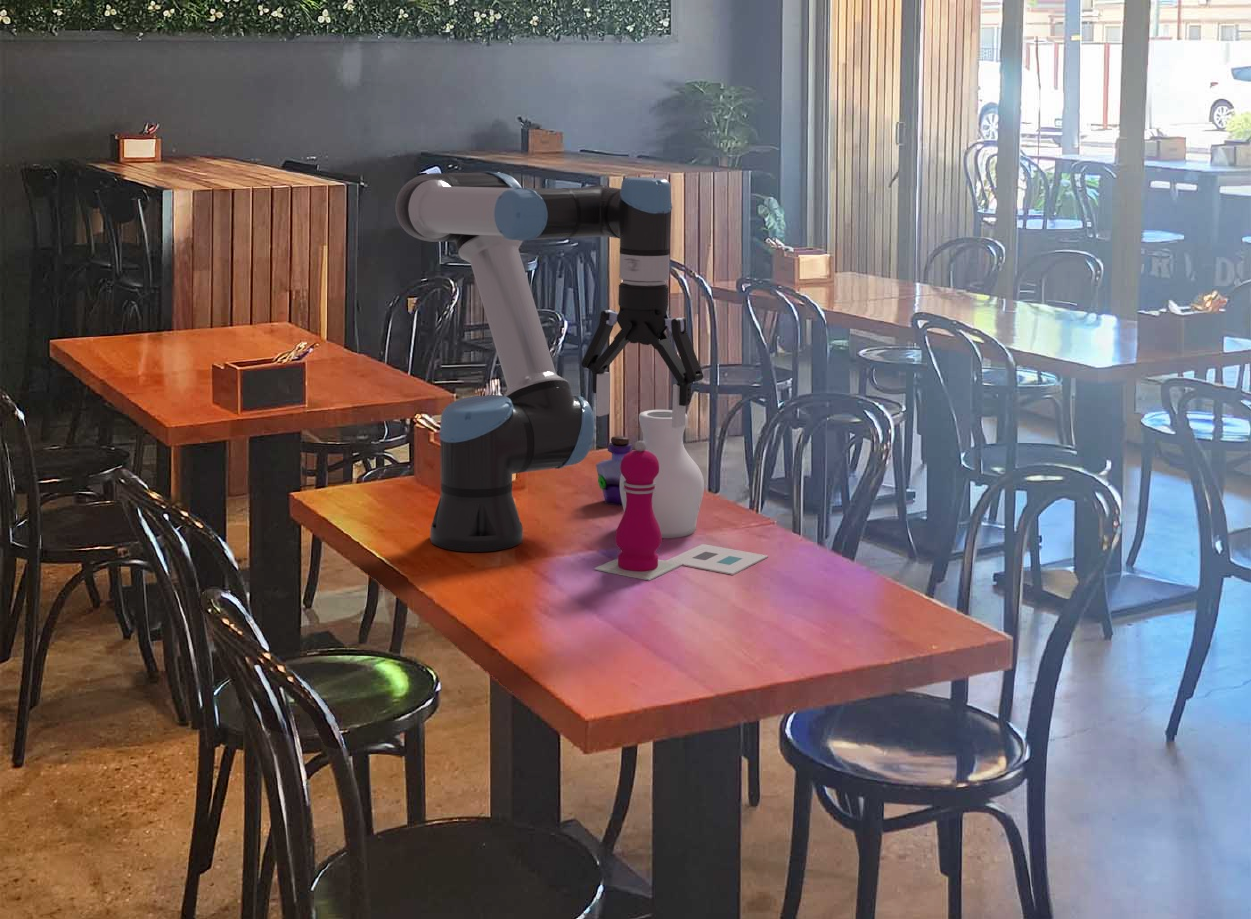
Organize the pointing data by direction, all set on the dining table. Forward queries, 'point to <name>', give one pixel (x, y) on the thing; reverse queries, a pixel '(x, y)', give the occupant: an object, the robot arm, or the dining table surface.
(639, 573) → the coaster
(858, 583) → the dining table surface
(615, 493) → the potion bottle
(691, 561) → the tile
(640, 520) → the pepper mill
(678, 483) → the vase
